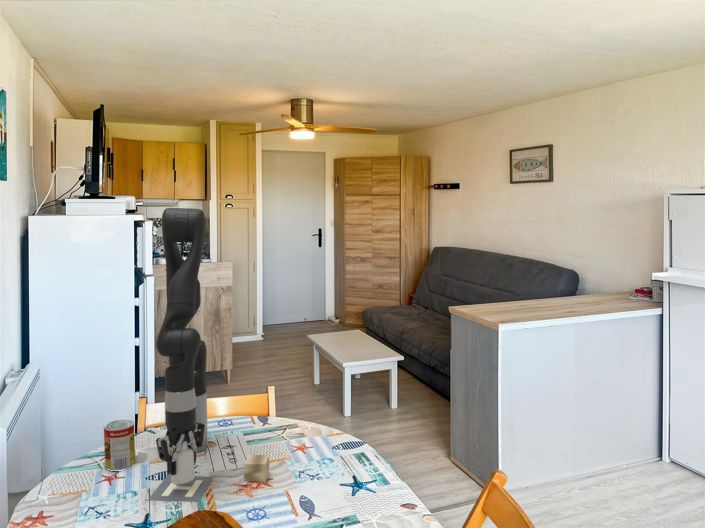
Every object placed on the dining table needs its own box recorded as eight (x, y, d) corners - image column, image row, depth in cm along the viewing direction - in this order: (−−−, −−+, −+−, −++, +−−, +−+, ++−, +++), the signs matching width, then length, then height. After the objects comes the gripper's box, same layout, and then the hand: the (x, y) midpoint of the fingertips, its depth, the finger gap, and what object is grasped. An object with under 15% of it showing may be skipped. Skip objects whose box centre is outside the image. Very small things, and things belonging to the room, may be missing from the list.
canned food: (131, 457, 160) (130, 417, 159) (138, 467, 153) (136, 425, 152) (102, 463, 155) (101, 423, 154) (108, 474, 149) (106, 432, 148)
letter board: (147, 502, 134) (147, 500, 134) (167, 477, 147) (167, 475, 147) (198, 504, 134) (198, 501, 134) (215, 478, 147) (215, 476, 147)
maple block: (244, 483, 144) (244, 463, 144) (249, 473, 150) (249, 454, 149) (264, 484, 144) (264, 464, 144) (269, 474, 149) (269, 455, 149)
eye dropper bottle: (174, 477, 142) (172, 432, 141) (196, 476, 143) (194, 432, 142) (169, 485, 138) (168, 439, 137) (191, 484, 138) (190, 439, 137)
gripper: (167, 417, 131) (169, 485, 132) (212, 400, 143) (213, 462, 144) (147, 411, 135) (149, 477, 136) (192, 395, 147) (193, 456, 148)
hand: (182, 469), depth 140 cm, fingers closed on eye dropper bottle, 5 cm apart
